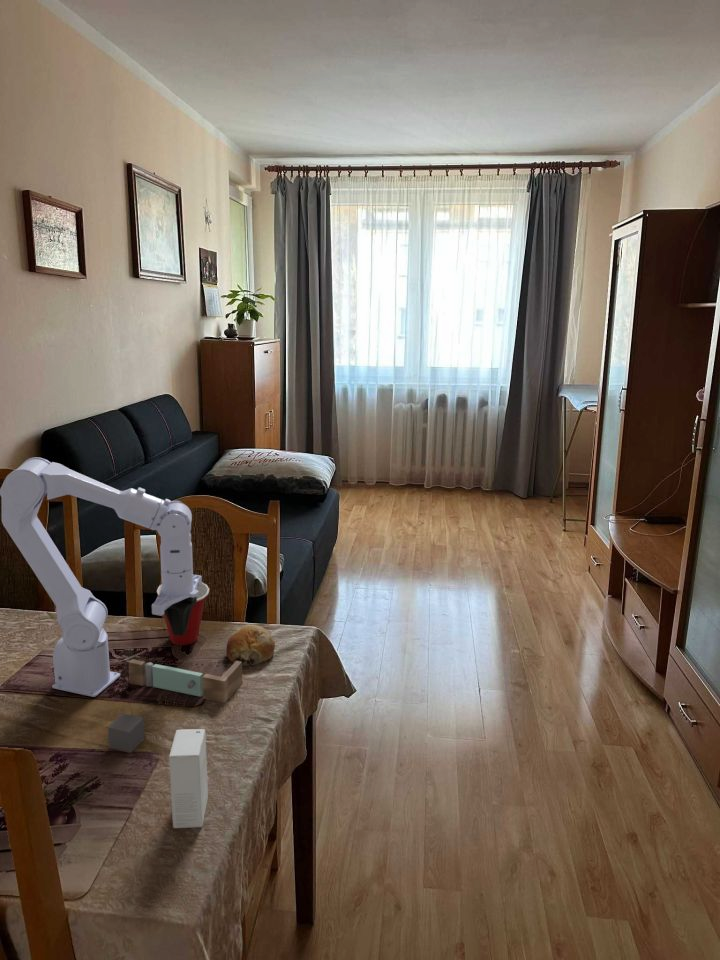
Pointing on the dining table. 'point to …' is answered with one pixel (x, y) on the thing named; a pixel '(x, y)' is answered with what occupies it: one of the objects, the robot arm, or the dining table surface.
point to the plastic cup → (190, 619)
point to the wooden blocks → (212, 684)
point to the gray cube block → (126, 732)
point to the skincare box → (188, 778)
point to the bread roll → (250, 645)
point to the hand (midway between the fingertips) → (179, 633)
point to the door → (174, 679)
